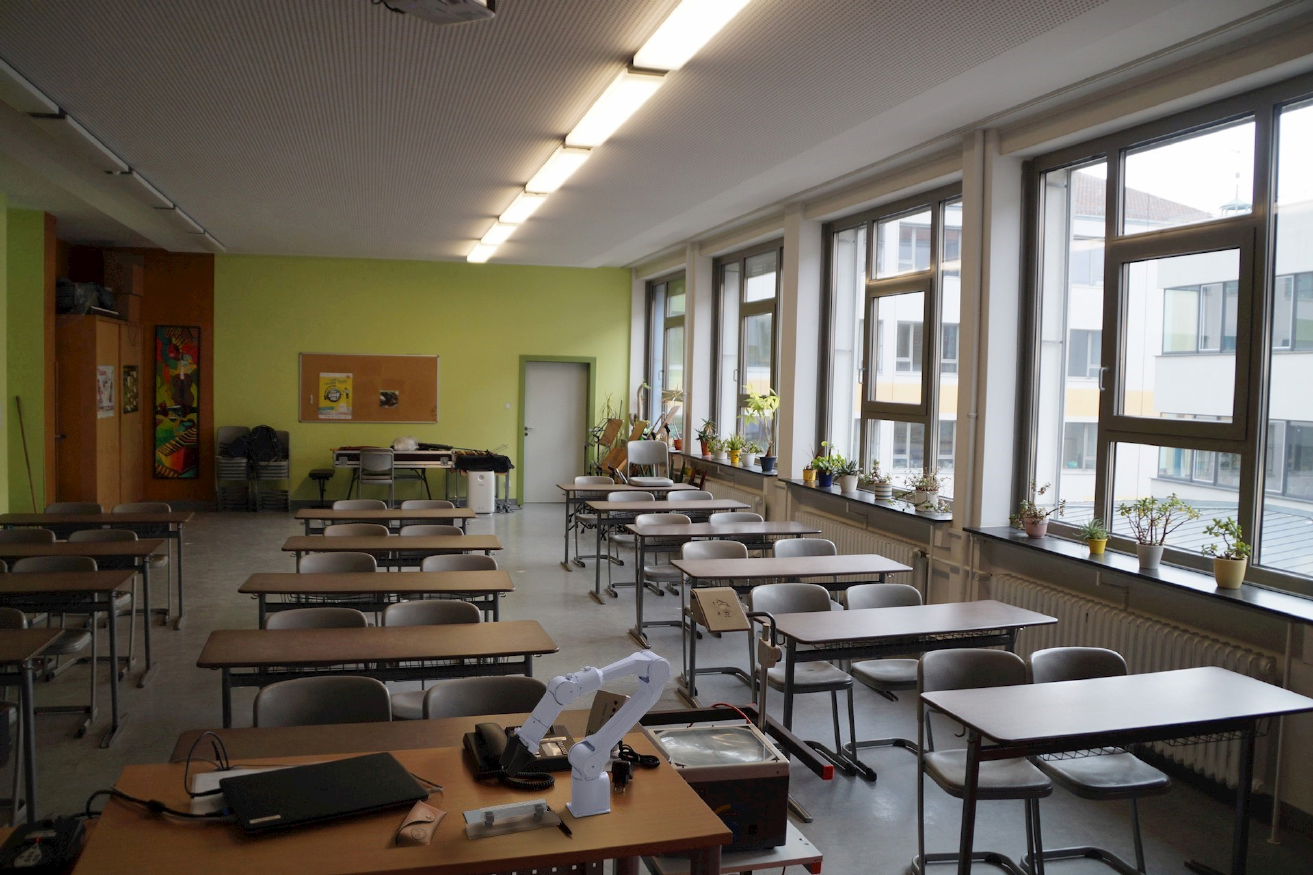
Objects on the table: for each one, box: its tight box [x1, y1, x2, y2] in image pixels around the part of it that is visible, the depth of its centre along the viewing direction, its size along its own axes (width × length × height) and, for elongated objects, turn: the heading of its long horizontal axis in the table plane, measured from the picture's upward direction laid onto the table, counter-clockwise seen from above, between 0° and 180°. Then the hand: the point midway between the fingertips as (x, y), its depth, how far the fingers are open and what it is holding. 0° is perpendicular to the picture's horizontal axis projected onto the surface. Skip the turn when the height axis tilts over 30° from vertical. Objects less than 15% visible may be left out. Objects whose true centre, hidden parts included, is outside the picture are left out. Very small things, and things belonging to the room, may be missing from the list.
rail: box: [479, 798, 548, 821], centre depth 216 cm, size 16×2×2 cm, turn 112°
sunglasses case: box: [394, 799, 448, 847], centre depth 215 cm, size 18×7×7 cm
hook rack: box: [464, 798, 562, 840], centre depth 216 cm, size 22×6×5 cm, turn 112°
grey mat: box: [463, 808, 547, 824], centre depth 223 cm, size 20×7×1 cm, turn 112°
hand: (505, 770), depth 216 cm, fingers open, 7 cm apart
